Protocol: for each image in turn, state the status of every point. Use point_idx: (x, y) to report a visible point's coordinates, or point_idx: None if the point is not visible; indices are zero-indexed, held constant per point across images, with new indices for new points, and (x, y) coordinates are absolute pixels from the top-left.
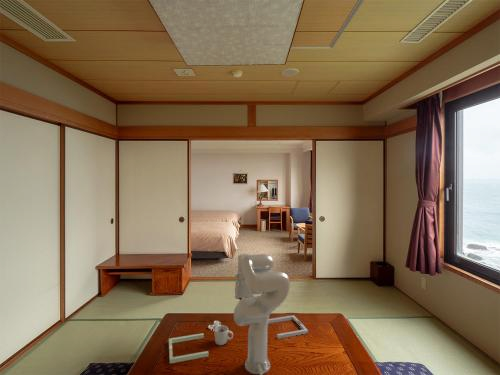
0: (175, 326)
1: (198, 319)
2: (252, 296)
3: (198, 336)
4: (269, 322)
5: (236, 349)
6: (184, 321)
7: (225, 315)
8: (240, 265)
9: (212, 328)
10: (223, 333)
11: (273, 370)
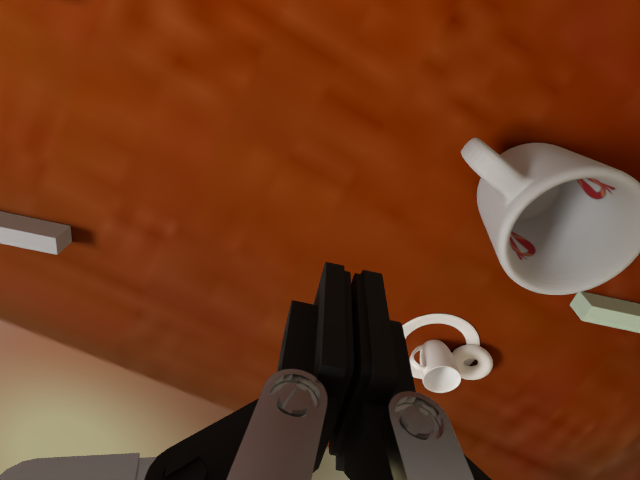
0: (624, 451)
1: (473, 452)
2: (39, 467)
3: (623, 308)
4: (45, 225)
5: (479, 28)
6: (551, 467)
7: None
8: None
9: (471, 346)
10: (600, 164)
11: None
